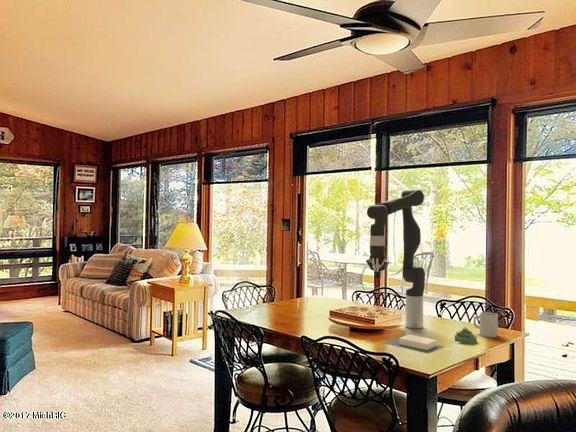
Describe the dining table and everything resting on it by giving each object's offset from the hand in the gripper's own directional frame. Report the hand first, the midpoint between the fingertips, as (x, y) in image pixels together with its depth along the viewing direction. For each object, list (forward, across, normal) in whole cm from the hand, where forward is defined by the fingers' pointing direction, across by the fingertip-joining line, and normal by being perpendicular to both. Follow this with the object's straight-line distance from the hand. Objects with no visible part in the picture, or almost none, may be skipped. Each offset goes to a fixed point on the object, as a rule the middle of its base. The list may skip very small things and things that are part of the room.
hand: (377, 278), depth 233 cm
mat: (+29, -21, +3) cm, 36 cm away
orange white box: (+27, -17, +3) cm, 32 cm away
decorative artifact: (+29, -35, -23) cm, 51 cm away
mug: (+29, -37, -42) cm, 63 cm away
